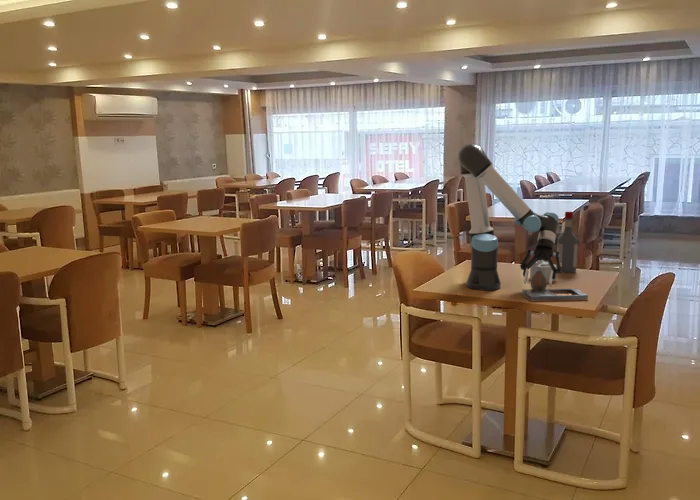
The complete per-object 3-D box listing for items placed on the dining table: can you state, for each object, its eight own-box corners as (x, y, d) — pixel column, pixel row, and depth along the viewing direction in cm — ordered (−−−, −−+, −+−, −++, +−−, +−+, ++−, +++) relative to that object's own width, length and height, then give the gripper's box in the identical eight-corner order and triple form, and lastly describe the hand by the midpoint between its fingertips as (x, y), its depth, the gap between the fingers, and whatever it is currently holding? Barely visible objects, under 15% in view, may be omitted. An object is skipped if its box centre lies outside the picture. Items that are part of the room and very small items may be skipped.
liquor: (574, 269, 319) (577, 211, 313) (576, 272, 310) (579, 213, 305) (555, 268, 321) (558, 210, 315) (557, 272, 312) (560, 212, 307)
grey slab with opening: (530, 301, 258) (531, 296, 257) (521, 294, 270) (522, 289, 269) (587, 299, 259) (587, 295, 258) (576, 292, 270) (576, 288, 270)
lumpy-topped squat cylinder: (539, 282, 291) (540, 264, 289) (524, 276, 303) (525, 259, 302) (558, 281, 293) (559, 263, 292) (543, 275, 306) (544, 258, 304)
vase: (547, 289, 276) (548, 270, 275) (545, 293, 270) (546, 273, 269) (531, 288, 279) (532, 269, 278) (529, 292, 273) (529, 272, 272)
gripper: (572, 249, 280) (565, 290, 269) (521, 245, 290) (512, 285, 279) (571, 239, 274) (563, 281, 264) (519, 236, 285) (510, 276, 274)
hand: (537, 283), depth 272 cm, fingers open, 10 cm apart
